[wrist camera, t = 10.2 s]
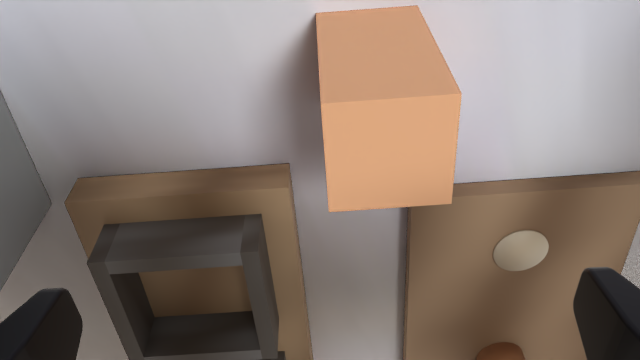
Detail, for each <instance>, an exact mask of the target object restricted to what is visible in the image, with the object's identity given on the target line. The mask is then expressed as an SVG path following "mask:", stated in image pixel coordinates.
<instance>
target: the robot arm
mask: <svg viewBox="0 0 640 360" xmlns="http://www.w3.org/2000/svg"><path fill="white" fill-rule="evenodd" d="M573 311H574V315H575V319H576V322H577V326H578V329H579V333H580V337H581V340H582V344H583V347H584V351H585V354H586V358H587V360H640V289H639V288H638V287H636V286H635V285H634V284H632V283H631V282H630V281H628V280H627V279H626V278H624V277H623V276H622V275H620V274H619V273H618V272H616V271H615V270H614V269H612V268H610V267H589V268H586V269H584V270H583V272H582V274H581V277H580V280H579V283H578V286H577V289H576V293H575V296H574V300H573ZM82 327H83V325H82V318H81V316H80V314H79V311H78V309H77V307H76V305H75V303H74V301H73V299H72V297H71V295H70V293H69V291H68V290H66V289H64V288H53V289H43V290H41V291H39V292H38V293H36V294H35V295H34V296H33V297H31V298H30V299H29V300H28V301H27V302H25V303H24V304H23V305H22V306H21V307H19V308H18V309H17V310H16V311H15V312H13V313H12V314H11V315H10V316H9V317H7V318H6V319H5V320H4V321H3V322H1V323H0V360H76V356H77V352H78V347H79V343H80V338H81V334H82Z"/></svg>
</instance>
